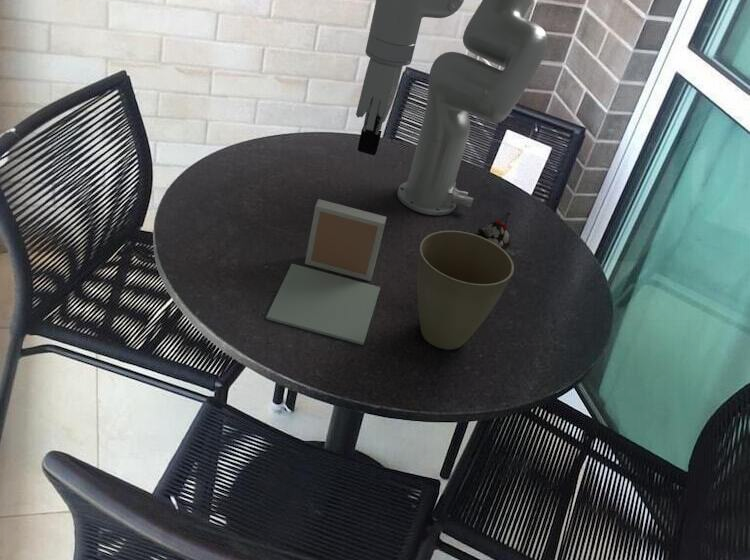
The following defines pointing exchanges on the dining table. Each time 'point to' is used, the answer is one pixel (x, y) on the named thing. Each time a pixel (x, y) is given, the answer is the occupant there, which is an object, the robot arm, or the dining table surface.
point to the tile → (344, 239)
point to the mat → (325, 304)
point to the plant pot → (458, 285)
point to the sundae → (496, 233)
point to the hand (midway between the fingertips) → (367, 151)
